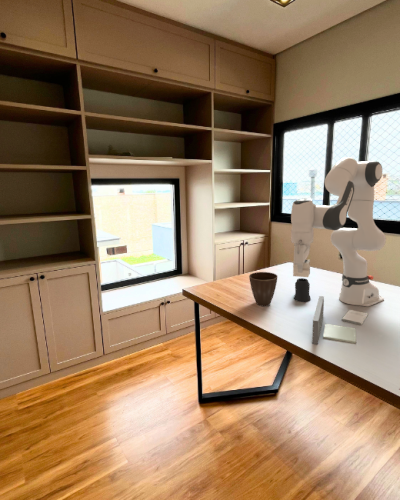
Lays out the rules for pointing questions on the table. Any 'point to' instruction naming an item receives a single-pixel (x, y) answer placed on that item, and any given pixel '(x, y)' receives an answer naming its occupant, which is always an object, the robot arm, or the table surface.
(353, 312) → the external hard drive
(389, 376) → the table surface
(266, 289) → the plant pot
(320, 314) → the screen
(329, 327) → the pad
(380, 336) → the table surface
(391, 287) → the table surface
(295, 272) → the letter cube
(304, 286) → the mug
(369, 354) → the table surface
